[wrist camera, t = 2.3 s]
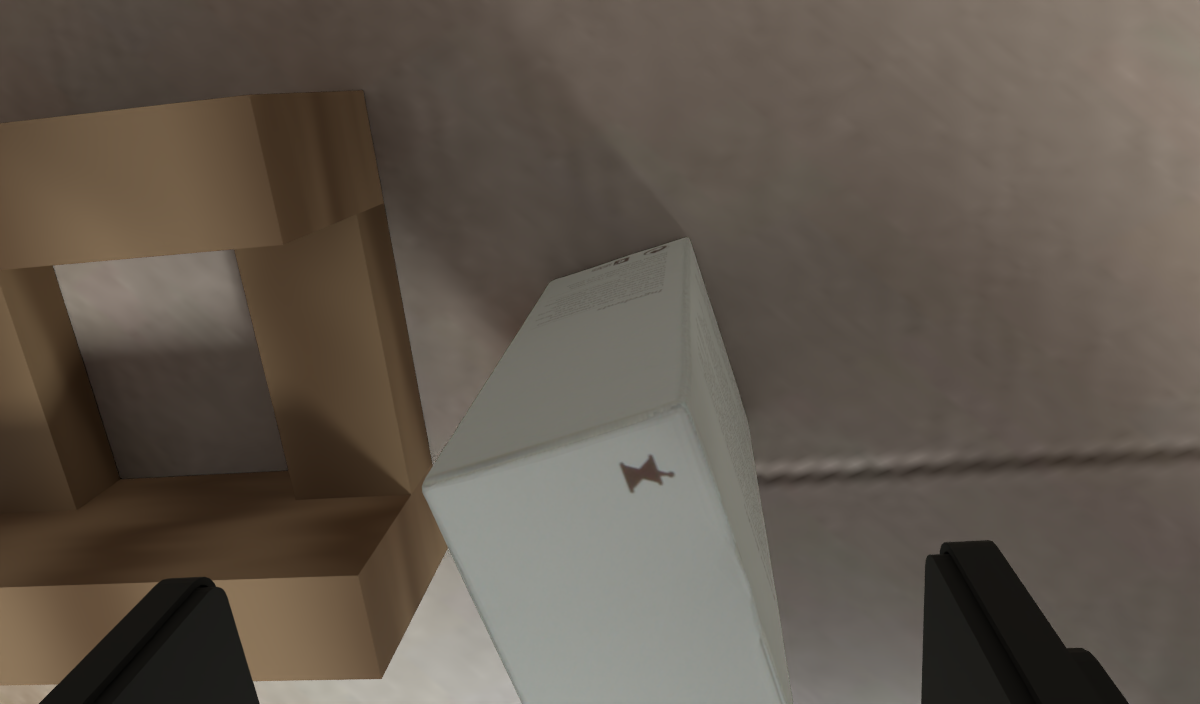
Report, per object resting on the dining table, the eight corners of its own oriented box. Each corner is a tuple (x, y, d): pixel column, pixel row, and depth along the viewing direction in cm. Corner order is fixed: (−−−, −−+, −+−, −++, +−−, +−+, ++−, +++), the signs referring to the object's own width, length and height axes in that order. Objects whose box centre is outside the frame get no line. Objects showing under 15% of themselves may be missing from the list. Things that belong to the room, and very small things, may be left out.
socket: (363, 90, 22) (249, 94, 16) (447, 547, 26) (381, 678, 20) (-100, 142, 24) (-350, 163, 18) (51, 563, 28) (-111, 687, 22)
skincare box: (544, 279, 23) (406, 475, 12) (690, 232, 22) (693, 393, 11) (614, 466, 25) (553, 798, 13) (752, 429, 24) (812, 748, 12)
